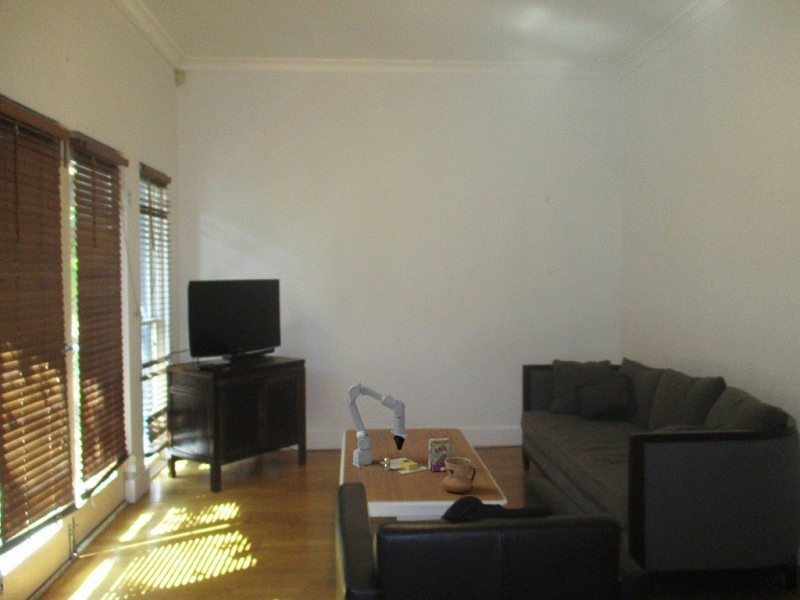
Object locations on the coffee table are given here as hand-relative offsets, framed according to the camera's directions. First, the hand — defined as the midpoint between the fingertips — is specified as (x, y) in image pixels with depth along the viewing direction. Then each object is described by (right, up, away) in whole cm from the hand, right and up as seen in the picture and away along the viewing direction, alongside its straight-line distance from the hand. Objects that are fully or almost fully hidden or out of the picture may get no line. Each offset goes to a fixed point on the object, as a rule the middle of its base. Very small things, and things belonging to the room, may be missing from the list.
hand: (399, 449), depth 362 cm
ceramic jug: (+28, -11, -39) cm, 49 cm away
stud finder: (+5, -8, -7) cm, 12 cm away
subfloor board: (+2, -9, -3) cm, 9 cm away
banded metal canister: (-6, -9, -10) cm, 15 cm away
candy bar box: (+21, -9, -8) cm, 24 cm away
